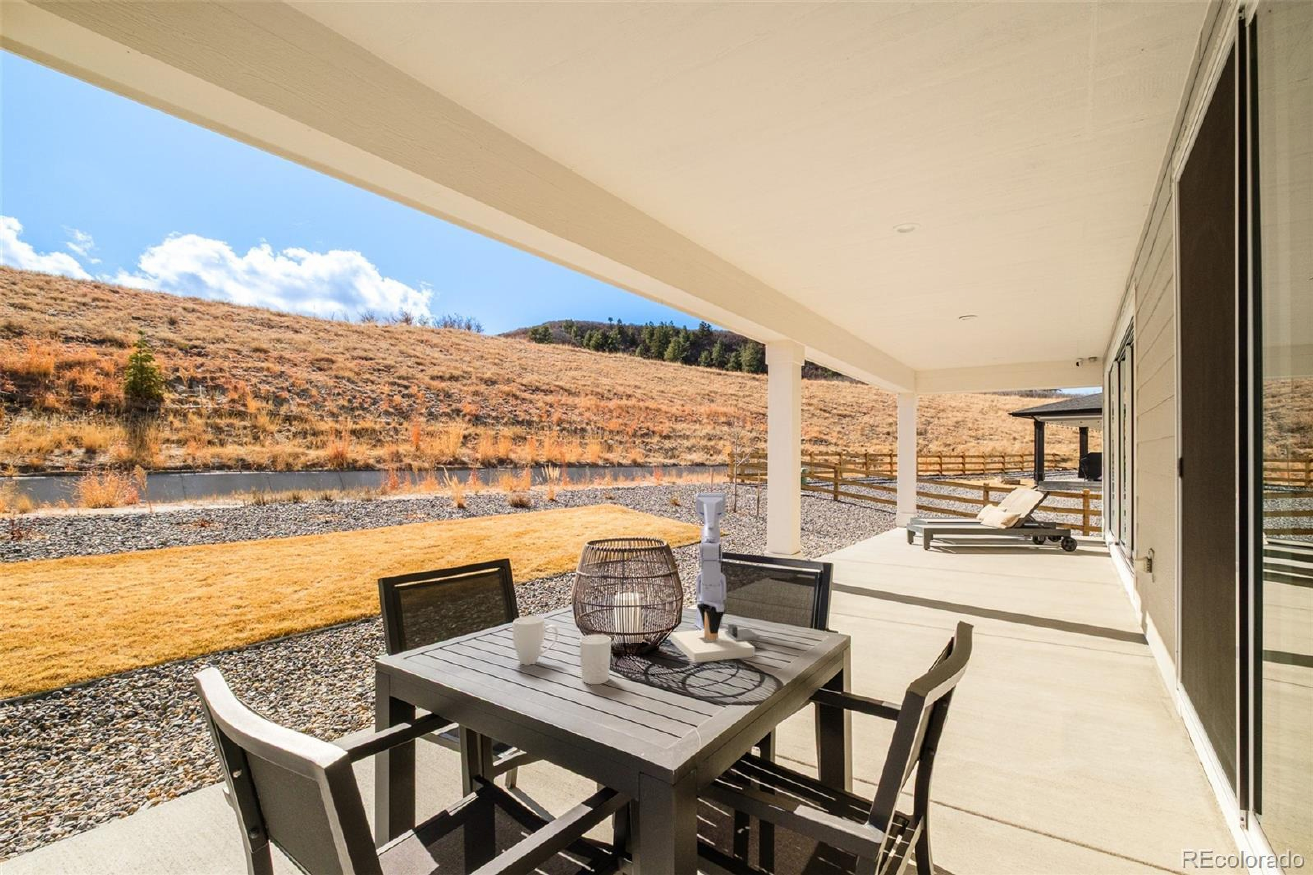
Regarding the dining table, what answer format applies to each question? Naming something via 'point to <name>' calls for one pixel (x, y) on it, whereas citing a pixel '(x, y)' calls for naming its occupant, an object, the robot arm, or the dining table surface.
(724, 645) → the socket plate
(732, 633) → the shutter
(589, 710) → the dining table surface
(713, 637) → the plug peg
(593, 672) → the white cup
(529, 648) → the mug
